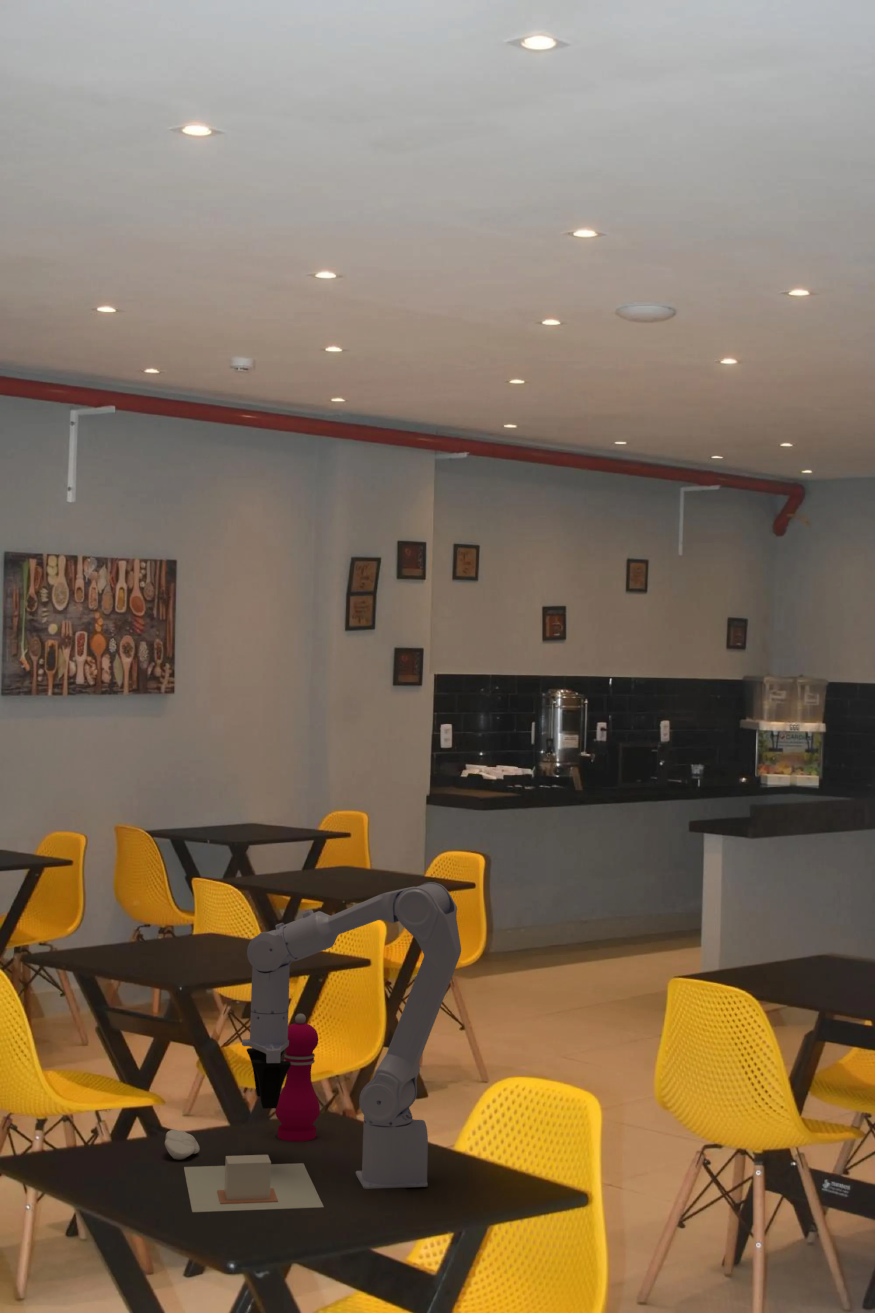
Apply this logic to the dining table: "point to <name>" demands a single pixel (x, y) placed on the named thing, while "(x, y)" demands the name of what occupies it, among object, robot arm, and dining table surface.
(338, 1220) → the dining table surface
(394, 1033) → the robot arm
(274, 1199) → the flat orange brown slab
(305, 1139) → the pepper mill
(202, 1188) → the mat
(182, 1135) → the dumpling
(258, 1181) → the plain grayish brown block
